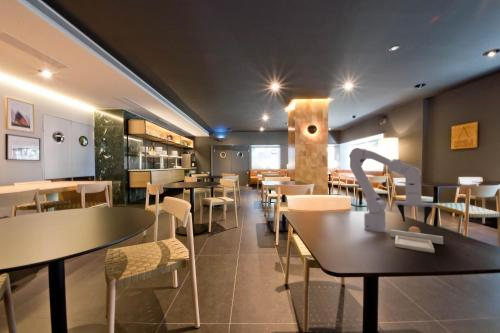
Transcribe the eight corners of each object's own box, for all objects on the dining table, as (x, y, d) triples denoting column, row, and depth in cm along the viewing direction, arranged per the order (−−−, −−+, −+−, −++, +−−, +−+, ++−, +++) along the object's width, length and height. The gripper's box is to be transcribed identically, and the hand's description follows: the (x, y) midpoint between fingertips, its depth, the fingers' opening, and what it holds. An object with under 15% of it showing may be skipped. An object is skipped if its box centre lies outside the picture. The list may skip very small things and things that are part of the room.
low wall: (390, 236, 96) (390, 230, 96) (390, 235, 97) (390, 229, 97) (443, 244, 85) (443, 237, 85) (442, 243, 86) (442, 236, 86)
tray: (395, 246, 84) (395, 243, 84) (395, 238, 94) (395, 235, 94) (434, 253, 77) (434, 249, 77) (430, 243, 87) (430, 240, 87)
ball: (408, 236, 95) (408, 227, 96) (408, 234, 99) (408, 224, 99) (421, 238, 93) (420, 228, 93) (420, 235, 96) (420, 226, 96)
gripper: (394, 193, 97) (395, 221, 97) (435, 194, 89) (436, 226, 88) (394, 191, 103) (395, 218, 103) (433, 192, 94) (434, 222, 94)
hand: (414, 222), depth 96 cm, fingers open, 7 cm apart
